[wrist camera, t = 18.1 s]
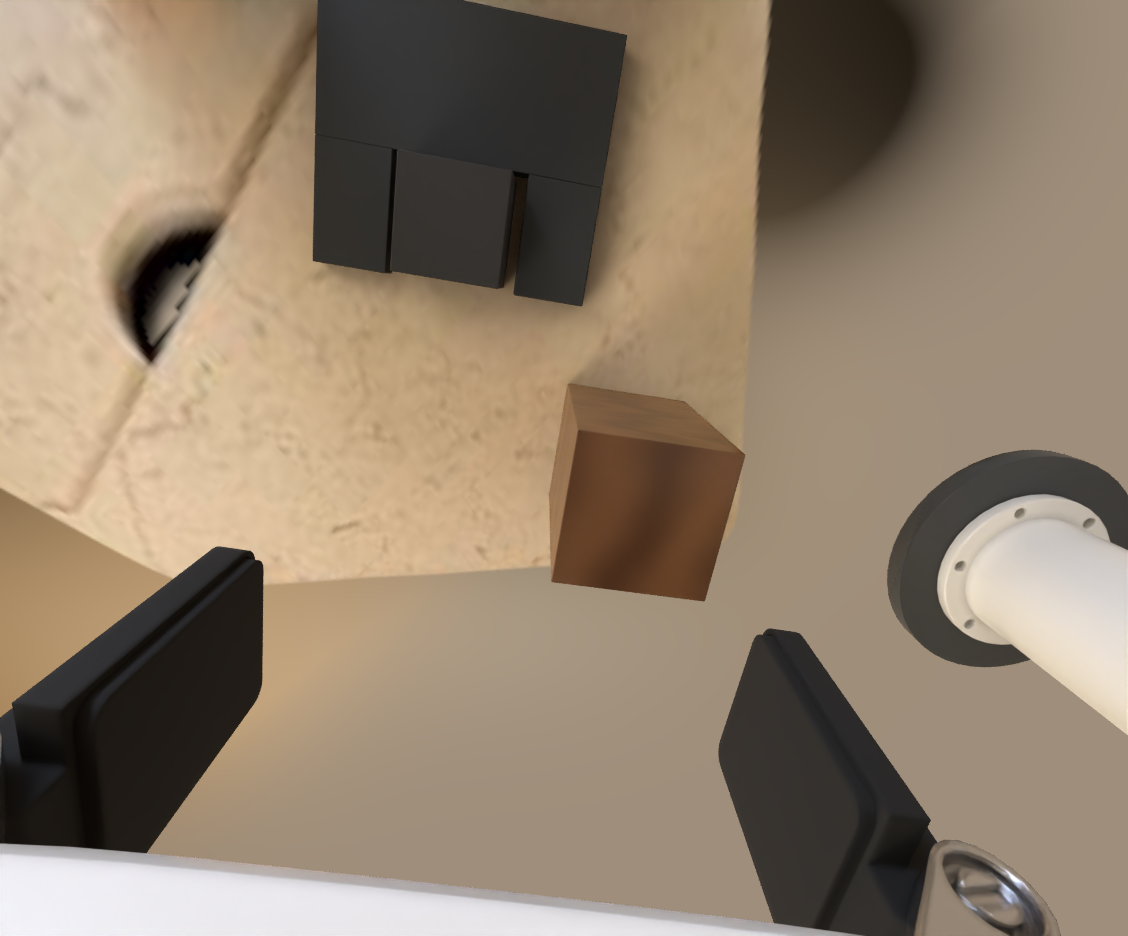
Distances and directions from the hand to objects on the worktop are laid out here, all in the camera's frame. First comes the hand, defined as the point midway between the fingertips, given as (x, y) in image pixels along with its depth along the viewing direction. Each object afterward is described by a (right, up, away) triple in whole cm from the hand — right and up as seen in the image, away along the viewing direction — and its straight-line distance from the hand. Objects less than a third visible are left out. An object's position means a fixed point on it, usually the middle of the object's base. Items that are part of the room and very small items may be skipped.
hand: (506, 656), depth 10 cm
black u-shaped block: (-5, +22, +22) cm, 31 cm away
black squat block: (-5, +18, +23) cm, 30 cm away
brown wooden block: (+5, +5, +28) cm, 29 cm away
